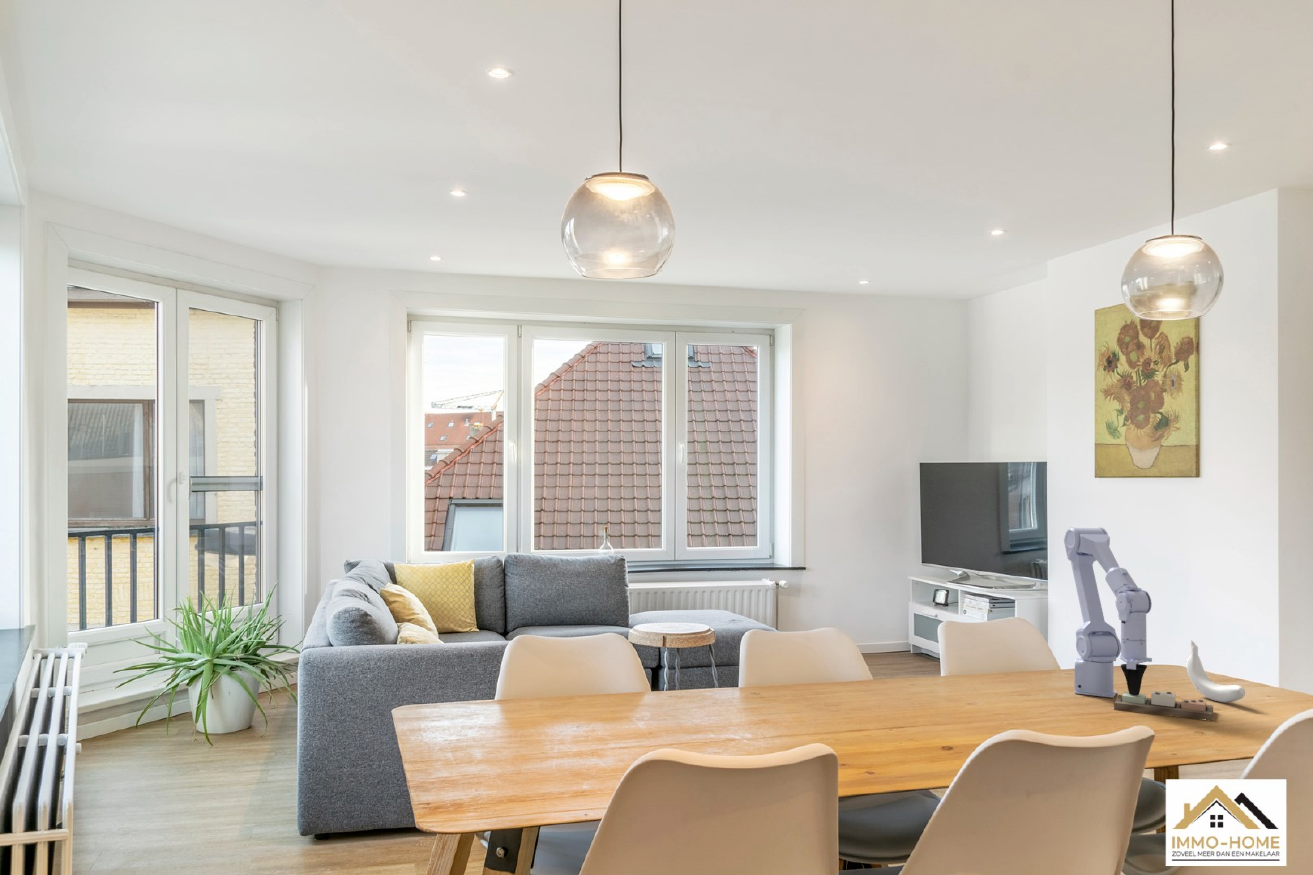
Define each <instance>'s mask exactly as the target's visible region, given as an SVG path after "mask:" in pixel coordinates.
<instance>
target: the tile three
mask: <svg viewBox="0 0 1313 875" xmlns="http://www.w3.org/2000/svg"><path fill="white" fill-rule="evenodd" d="M1180 702H1181V709H1189V710H1198V711H1206V705H1207V704H1206V702H1207V701H1206V700H1204V699H1189V698H1182V700H1181V701H1180Z"/></svg>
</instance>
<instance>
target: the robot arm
mask: <svg viewBox="0 0 1313 875" xmlns="http://www.w3.org/2000/svg"><path fill="white" fill-rule="evenodd" d="M1110 541H1111V537H1110V536H1109V534H1108V532H1107V530H1106V529H1105V528H1104V527H1069V528H1068V529H1067V530H1066V533H1065V535H1064V538H1063V543H1064V548H1065V552H1066V557H1067V559H1068V561H1070V565H1071V569H1072V573H1073V580H1074V583H1075V588H1076V593H1077V597H1078V601H1079V602H1078V603H1079V607H1080V612H1081V615H1082V616H1081V617H1082V621H1083V624H1082V625H1081V626H1080V627H1079V628H1078V629H1076V631H1075V637H1076V640H1075V641H1076V642H1075V646H1076V647H1075V648H1076V651H1077V654H1078V655H1079V656H1080V658H1079V657H1077V658H1075V659H1074V681H1073V684H1074V691H1073V692H1074V694H1077V695H1086V696H1095V697H1102V698H1112V699H1113V698H1114V697H1115V696H1116V694H1117V693H1118V692H1117V690H1114V688H1115V686H1114V685H1115V684H1114V683H1115V682H1114V676H1115V675H1114V673H1115V671H1114V670H1115V669H1114V665H1115V664H1114V662H1117V658H1119V656H1120V658H1119V659H1120V660H1121V661H1123V662H1124V663H1122V664H1120V669H1121V671H1122V672H1123V674H1124V678H1125V681H1126V686H1127V690H1128V691H1127V692H1128V693H1129V694H1133V695H1139V694H1140V691H1141V687H1142V682H1143V681H1142V680H1143V677H1144V675H1145V674H1144V673H1145V672H1146V670H1147V668H1148V666H1147V664H1143V663H1147V662H1150V663H1151V662H1152V661H1153V658H1152V657H1148V656H1147V652H1148V651H1147V614H1149V613H1150V612H1151V609H1152V606H1153V604H1152V598H1151V595H1150V594H1149V592H1148V591H1146V590H1144V589H1142V588H1141V587H1138V586H1137V584H1136V582H1135V581H1134V578H1132V576H1131V574H1130V573H1129V571H1128V570H1127V569H1126V568H1123V567H1120V565H1119V563H1118V561H1117V560H1116V559H1117V558H1115V556H1114V553H1113V552H1112V550H1111V547H1110V544H1111V543H1110ZM1096 561H1097V563H1098V564H1099V565H1100V566H1101V568H1102V569H1103V571H1104V572H1105V574H1106V575H1105V582H1106V583H1107V585H1108V586H1109V588H1110V590H1111V592H1112V593H1113V594H1114V596H1115V598H1116V600H1115V607H1116V610H1117V612H1118V619H1119V620H1120V639H1119V638H1118V636H1117V633H1116V629H1115V628H1114V627H1113V626H1112V625H1110V624H1109V623H1107V622H1106V621H1105V616H1104V611H1103V608H1102V604H1101V603H1102V602H1101V599H1100V598H1101V597H1100V595H1099V594H1100V593H1099V589H1098V584H1097V581H1096V576H1095V571H1094V567H1093V565H1094V563H1095V562H1096Z"/></svg>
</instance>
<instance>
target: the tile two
mask: <svg viewBox="0 0 1313 875" xmlns="http://www.w3.org/2000/svg"><path fill="white" fill-rule="evenodd" d="M1150 698H1151V704H1153V705H1162V706H1170V707H1175V703H1176V698H1177V697H1176V693H1175V692H1172V691H1171V692H1170V691H1157V690H1153V691H1152V692H1151V694H1150Z"/></svg>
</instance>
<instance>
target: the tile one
mask: <svg viewBox="0 0 1313 875" xmlns="http://www.w3.org/2000/svg"><path fill="white" fill-rule="evenodd" d="M1121 695H1122V702H1129V703H1138V704H1146V698H1147V694H1145V693H1139V695H1133V694H1129V692H1128V691H1127V692H1125V691H1124V692H1123V694H1121Z"/></svg>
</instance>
